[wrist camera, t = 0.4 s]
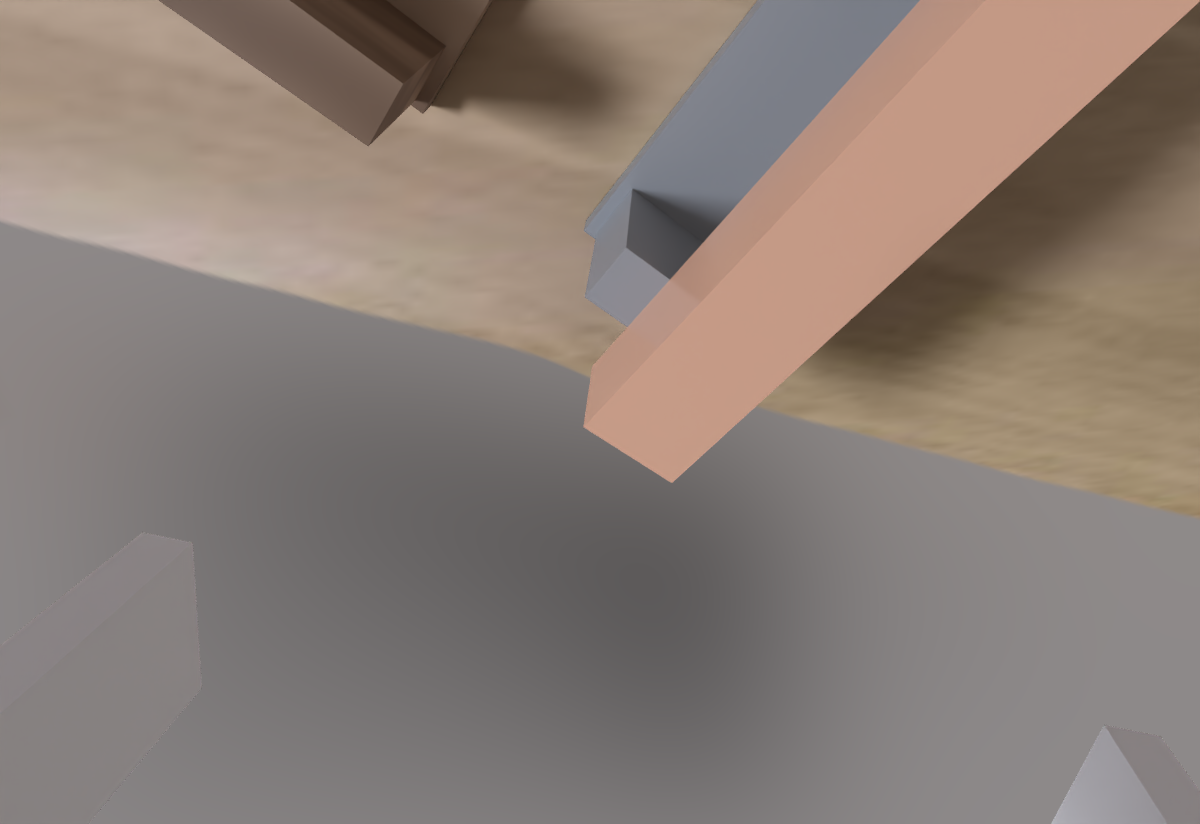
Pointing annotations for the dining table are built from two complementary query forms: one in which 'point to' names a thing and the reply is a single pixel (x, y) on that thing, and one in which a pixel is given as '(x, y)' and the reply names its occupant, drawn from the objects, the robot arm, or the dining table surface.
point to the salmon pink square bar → (856, 207)
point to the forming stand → (726, 139)
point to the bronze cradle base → (345, 50)
